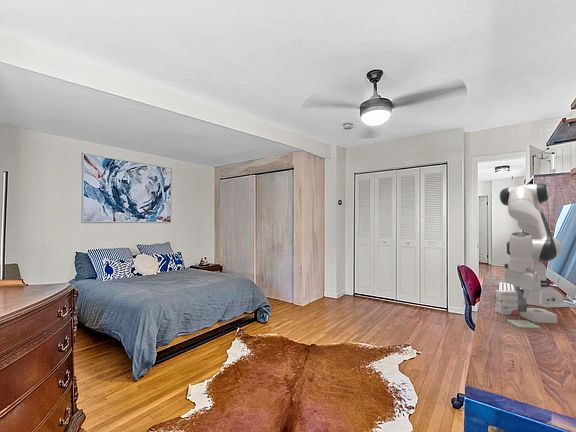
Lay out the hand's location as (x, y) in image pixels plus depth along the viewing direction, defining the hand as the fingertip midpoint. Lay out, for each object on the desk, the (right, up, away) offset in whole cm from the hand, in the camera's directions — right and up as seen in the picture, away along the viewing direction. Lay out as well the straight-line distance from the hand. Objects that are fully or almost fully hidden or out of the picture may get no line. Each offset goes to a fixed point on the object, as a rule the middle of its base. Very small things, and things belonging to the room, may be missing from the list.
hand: (522, 296), depth 135 cm
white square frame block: (+13, -13, +7) cm, 20 cm away
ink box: (+5, -13, +16) cm, 22 cm away
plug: (0, -7, 0) cm, 7 cm away
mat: (0, -13, 0) cm, 13 cm away
